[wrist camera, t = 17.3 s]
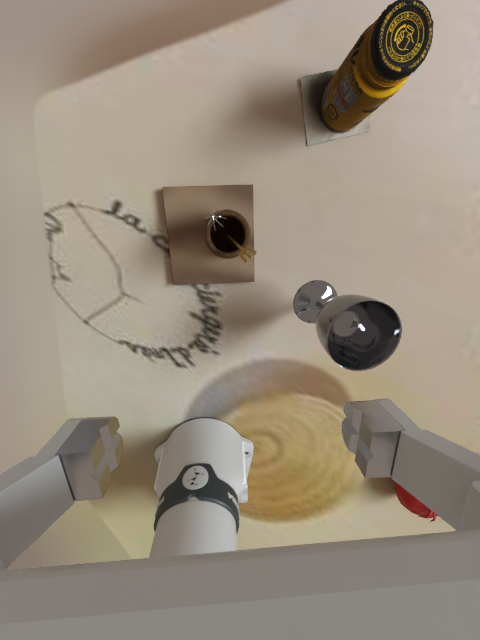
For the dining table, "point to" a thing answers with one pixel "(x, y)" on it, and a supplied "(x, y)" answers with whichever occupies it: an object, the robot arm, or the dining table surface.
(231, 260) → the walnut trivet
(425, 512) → the pomegranate
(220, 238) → the utensil holder
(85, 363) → the dining table surface
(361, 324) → the wine glass
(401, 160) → the dining table surface
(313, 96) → the condiment
